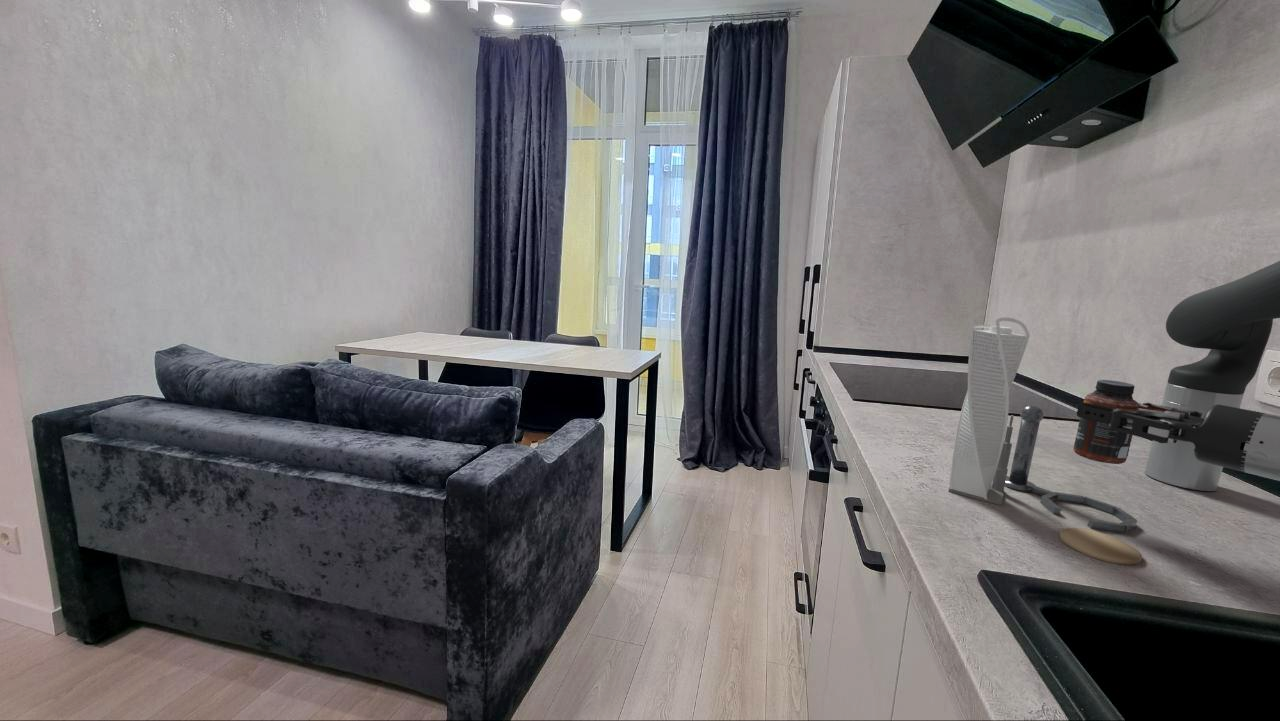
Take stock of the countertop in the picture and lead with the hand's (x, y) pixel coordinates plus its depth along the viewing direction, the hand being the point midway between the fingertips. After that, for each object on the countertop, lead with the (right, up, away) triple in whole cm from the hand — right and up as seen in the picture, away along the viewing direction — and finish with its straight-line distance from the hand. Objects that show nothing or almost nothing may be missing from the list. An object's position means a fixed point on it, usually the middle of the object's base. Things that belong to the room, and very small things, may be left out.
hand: (1088, 406), depth 77 cm
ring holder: (-2, -15, +4) cm, 16 cm away
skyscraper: (-13, -14, +6) cm, 20 cm away
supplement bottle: (+1, -8, -1) cm, 8 cm away
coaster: (-7, -17, -9) cm, 21 cm away
